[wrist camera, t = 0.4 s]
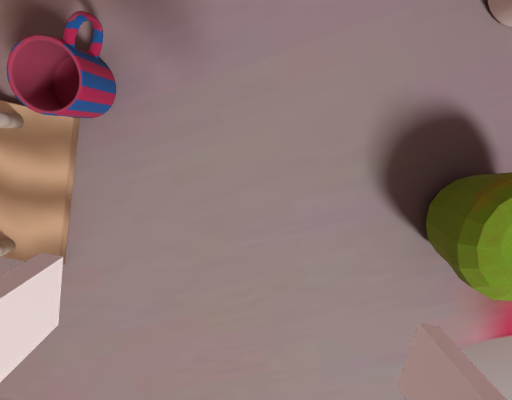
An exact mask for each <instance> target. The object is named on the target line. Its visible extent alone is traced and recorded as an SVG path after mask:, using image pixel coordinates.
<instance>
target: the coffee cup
mask: <svg viewBox="0 0 512 400" xmlns="http://www.w3.org/2000/svg"><path fill="white" fill-rule="evenodd" d="M488 5H489V8H490V11H491V13H492V14H493V16H494V17H495V18H496V19H497V20H498V21H499V22H500V23H502V24H504V25H506V26H510V27H512V0H488Z"/></svg>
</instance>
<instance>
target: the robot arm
mask: <svg viewBox="0 0 512 400" xmlns="http://www.w3.org/2000/svg"><path fill="white" fill-rule="evenodd" d="M62 267H63V257H62V256H57V255H51V254H46V253H40V254H38V255H36V256H35V257H33V258H31V259H29V260H28V261H26V262H24V263H22V264H21V265H19V266H17V267H15V268H14V269H12V270H10V271H9V272H7V273H5V274H3V275H2V276H0V382H1V381H2V380H3V379H4V378H5V377H6V376H7V375H8V374H9V373H10V372H11V371H12V370H13V369H14V368H15V367H16V366H17V365H18V364H19V363H20V362H21V361H22V360H23V359H24V358H25V357H26V356H27V355H28V354H29V353H30V352H31V351H32V350H33V349H34V348H35V347H36V346H37V345H38V344H39V343H40V342H41V341H42V340H43V339H44V338H45V337H46V336H47V335H48V334H49V333H50V332H51V331H52V330H53V329H54V328H55V327H56V326H57V325H58V321H59V307H60V294H61V280H62ZM397 385H398V387H399V389H400V391H401V393H402V394H403V396H404V398H405V400H507V399H506V398H505V397H504V396H503V395H502V394H501V393H500V392H499V391H498V390H497V389H496V388H495V387H494V386H493V384H492V383H491V382H490V381H489V380H488V379H487V378H486V377H485V376H484V375H483V374H482V373H481V372H480V371H479V369H478V368H477V367H476V366H475V365H474V364H473V363H472V362H471V361H470V360H469V359H468V358H467V357H466V355H465V354H464V353H463V352H462V351H461V350H460V349H459V348H458V347H457V346H456V345H455V344H454V343H453V341H452V340H451V339H450V338H449V337H448V336H447V335H446V334H445V333H444V332H443V331H442V330H441V329H440V328H439V327H437V326H432V325H427V324H421V323H419V325H418V328H417V331H416V333H415V336H414V339H413V342H412V344H411V347H410V350H409V353H408V355H407V358H406V361H405V364H404V366H403V369H402V372H401V375H400V377H399V380H398V383H397Z"/></svg>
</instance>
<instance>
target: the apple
mask: <svg viewBox="0 0 512 400" xmlns="http://www.w3.org/2000/svg"><path fill="white" fill-rule="evenodd" d="M426 228H427V237H428V240H429V241H430V243H431V244H432V246H433V247H434V249H435V250H436V252H437V253H438V254H439V255H441V256H442V257H443V258H444V259H445V260H446V261H447V262H448V263H449V265H450V266H451V267H452V269H453V270H454V271H455V273H456V274H457V276H458V277H459V278H460V279H461V280H462V281H464V282H465V283H466V284H468V285H469V286H470V287H472V288H473V289H475V290H477V291H478V292H480V293H482V294H484V295H485V296H487V297H489V298H490V299H492V300H507V301H512V172H511V173H500V174H483V175H473V176H469V177H465V178H460V179H457V180H456V181H454V182H452V183H451V184H449V185H448V186H446V187H444V188H443V189H441V190H440V192H439V193H438V194H437V196H436V197H435V198H434V200H433V201H432V202H431V204H430V205H429V210H428V214H427V219H426Z"/></svg>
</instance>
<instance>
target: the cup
mask: <svg viewBox="0 0 512 400" xmlns="http://www.w3.org/2000/svg"><path fill="white" fill-rule="evenodd" d="M87 20H90V21H91V23H92V26H93V38H92V43H91V46H90V48H89V50H88V52H85V51H83V50H81V49H78V48H76V44H75V39H76V34H77V31H78V29H79V27H80V25H81V24H82V23H83V22H84V21H87ZM102 42H103V29H102V26H101V23H100V22H99V21H98V20H97V19H96V18H95V17H94V16H93V15H91V14H89V13H87V12H84V11H78V12H75V13H74V14H73V15H72V16H71V17H70V18H69V20H68V21H67V23H66V26H65V29H64V34H63V38H62V40H59V39H56V38H54V37H50V36H47V35H33V36H29V37H26V38H24V39H22V40H21V41H20V42H18V43H17V44H16V45H15V47H14V48H13V49H12V51H11V53H10V55H9V58H8V62H7V76H8V81H9V84H10V86H11V89H12V91H13V92H14V94H15V96H16V97H17V98H18V99H19V101H20V102H21V103H23V104H24V105H25V106H26V107H28V108H29V109H30V110H32V111H35V112H37V113H40V114H43V115H53V116H66V117H80V118H94V117H98V116H100V115H102V114H104V113H105V112H107V111H108V109H109V108H110V107H111V106H112V104H113V102H114V99H115V95H116V84H115V80H114V77H113V74H112V72H111V71H110V69H109V68H108V66H107V65H106V64H105V63H104V62H103V61H101V60H100V59H99V58H98V57H99V55H100V51H101V47H102Z"/></svg>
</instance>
